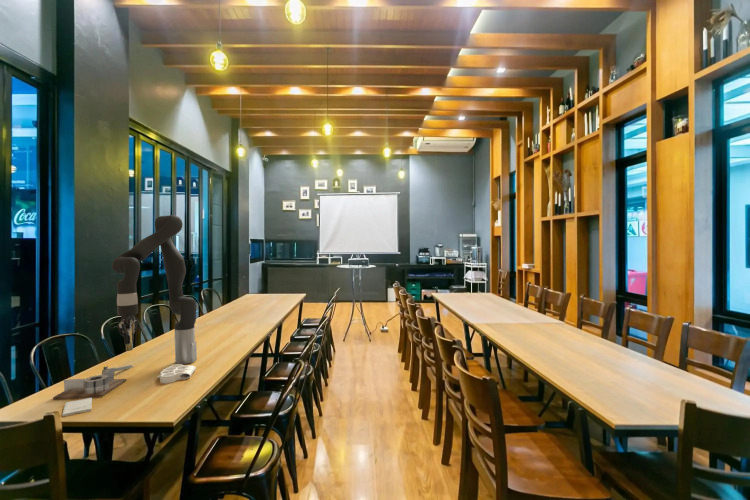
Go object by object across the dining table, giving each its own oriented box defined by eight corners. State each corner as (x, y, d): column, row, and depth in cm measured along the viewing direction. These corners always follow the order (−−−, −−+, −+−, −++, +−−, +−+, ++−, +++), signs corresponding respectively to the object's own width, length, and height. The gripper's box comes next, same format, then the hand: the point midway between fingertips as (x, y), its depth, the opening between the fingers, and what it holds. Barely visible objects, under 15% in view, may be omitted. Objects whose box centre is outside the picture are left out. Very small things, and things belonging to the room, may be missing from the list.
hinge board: (126, 380, 170) (126, 378, 170) (102, 396, 153) (102, 394, 153) (82, 383, 168) (82, 380, 168) (53, 399, 151) (53, 397, 151)
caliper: (104, 382, 170) (103, 367, 170) (101, 382, 170) (101, 368, 170) (133, 367, 191) (133, 354, 191) (131, 367, 191) (131, 354, 191)
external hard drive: (92, 401, 150) (91, 412, 140) (65, 406, 145) (62, 418, 135) (92, 397, 150) (90, 408, 140) (65, 402, 145) (62, 414, 135)
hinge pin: (133, 349, 167) (132, 322, 167) (130, 350, 165) (129, 323, 164) (127, 349, 167) (126, 322, 166) (124, 351, 164) (123, 323, 164)
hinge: (122, 379, 169) (122, 368, 169) (101, 393, 153) (100, 381, 153) (83, 381, 168) (83, 370, 167) (57, 395, 152) (57, 383, 152)
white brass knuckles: (188, 382, 169) (151, 385, 165) (197, 369, 186) (164, 372, 183) (188, 374, 169) (151, 377, 165) (197, 362, 186) (164, 365, 183)
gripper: (128, 305, 159) (129, 347, 159) (144, 300, 172) (146, 338, 173) (108, 306, 158) (110, 348, 158) (126, 301, 172) (128, 339, 172)
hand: (129, 343), depth 166 cm, fingers closed on hinge pin, 2 cm apart
